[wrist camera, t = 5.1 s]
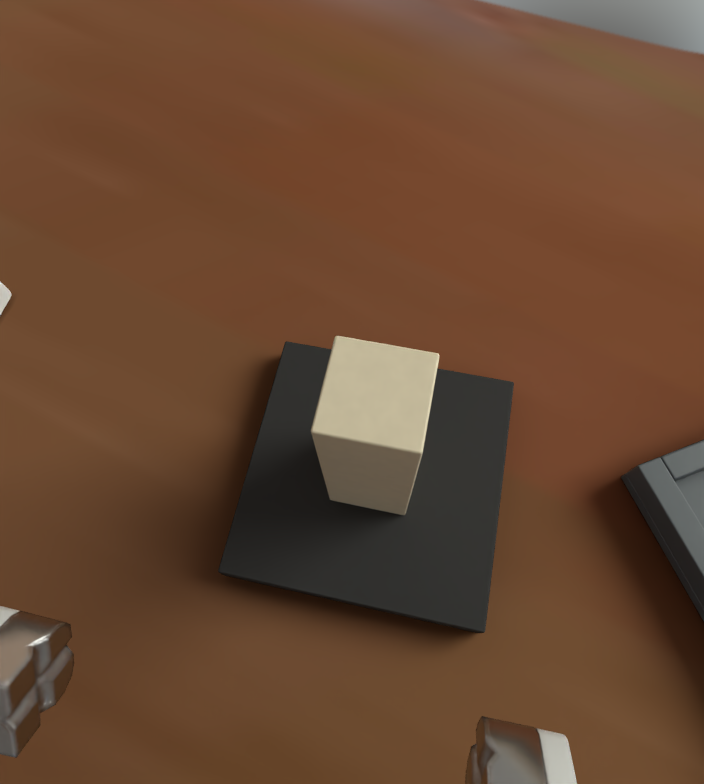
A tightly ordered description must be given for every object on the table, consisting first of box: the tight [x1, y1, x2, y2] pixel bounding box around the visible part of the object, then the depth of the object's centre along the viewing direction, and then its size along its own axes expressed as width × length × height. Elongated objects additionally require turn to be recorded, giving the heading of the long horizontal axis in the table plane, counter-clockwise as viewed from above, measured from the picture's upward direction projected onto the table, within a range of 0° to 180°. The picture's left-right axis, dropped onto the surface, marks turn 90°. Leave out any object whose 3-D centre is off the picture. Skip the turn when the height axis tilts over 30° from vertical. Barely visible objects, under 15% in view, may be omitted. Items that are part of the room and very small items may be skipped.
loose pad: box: [218, 336, 514, 633], centre depth 20 cm, size 10×10×9 cm
